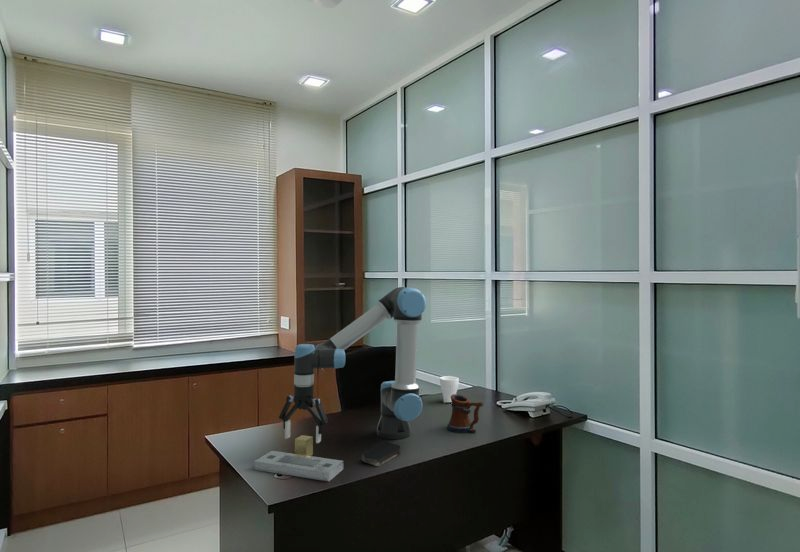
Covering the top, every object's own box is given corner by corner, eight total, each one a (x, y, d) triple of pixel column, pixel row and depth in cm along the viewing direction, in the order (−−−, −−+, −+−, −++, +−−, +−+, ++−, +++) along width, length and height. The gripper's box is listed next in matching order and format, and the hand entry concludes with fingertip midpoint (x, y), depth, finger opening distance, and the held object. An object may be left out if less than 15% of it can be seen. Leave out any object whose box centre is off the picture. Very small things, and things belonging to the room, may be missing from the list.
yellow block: (312, 454, 186) (312, 436, 186) (306, 459, 182) (306, 440, 182) (301, 452, 188) (301, 435, 188) (294, 457, 183) (294, 439, 183)
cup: (461, 401, 266) (461, 377, 266) (455, 406, 256) (455, 380, 256) (443, 399, 270) (443, 375, 270) (436, 403, 260) (437, 379, 260)
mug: (489, 432, 213) (489, 398, 213) (474, 438, 205) (474, 403, 205) (457, 423, 226) (457, 391, 226) (442, 428, 218) (442, 396, 218)
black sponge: (384, 450, 192) (384, 441, 192) (402, 454, 187) (402, 445, 187) (359, 463, 178) (359, 453, 178) (378, 468, 173) (378, 458, 173)
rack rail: (343, 469, 172) (343, 460, 172) (329, 481, 162) (329, 472, 162) (271, 458, 182) (271, 450, 182) (254, 469, 171) (254, 460, 171)
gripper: (337, 385, 184) (336, 440, 184) (281, 380, 192) (280, 432, 192) (328, 389, 177) (327, 447, 177) (270, 383, 185) (269, 438, 185)
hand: (302, 439), depth 185 cm, fingers open, 13 cm apart
